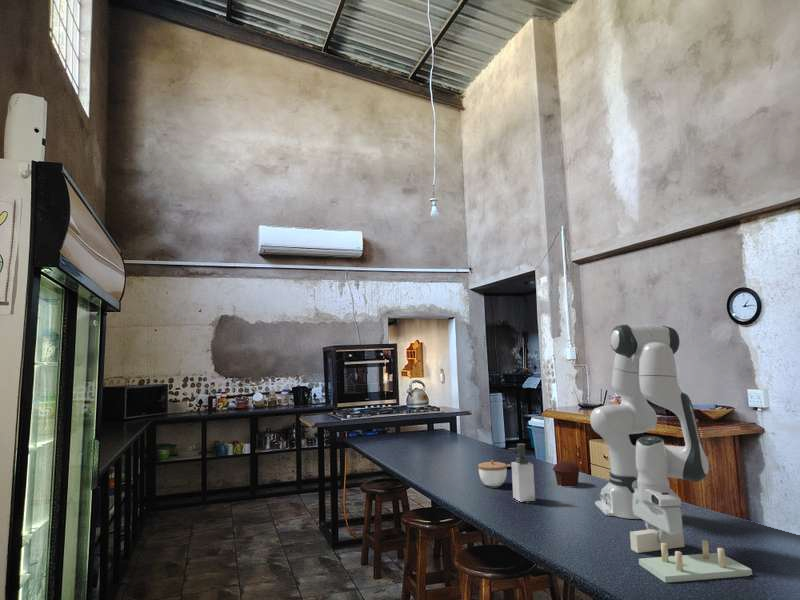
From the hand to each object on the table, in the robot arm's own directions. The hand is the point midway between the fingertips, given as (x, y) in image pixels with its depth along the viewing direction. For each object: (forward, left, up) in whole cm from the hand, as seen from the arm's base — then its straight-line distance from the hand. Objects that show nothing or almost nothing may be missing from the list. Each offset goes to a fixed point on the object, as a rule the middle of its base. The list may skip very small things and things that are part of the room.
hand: (657, 540), depth 158 cm
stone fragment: (-117, -10, -3) cm, 118 cm away
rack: (+16, 0, -2) cm, 16 cm away
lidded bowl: (-84, -26, -2) cm, 88 cm away
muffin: (-78, +6, -2) cm, 78 cm away
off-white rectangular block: (0, 0, -2) cm, 2 cm away
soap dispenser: (-58, -22, -2) cm, 62 cm away
